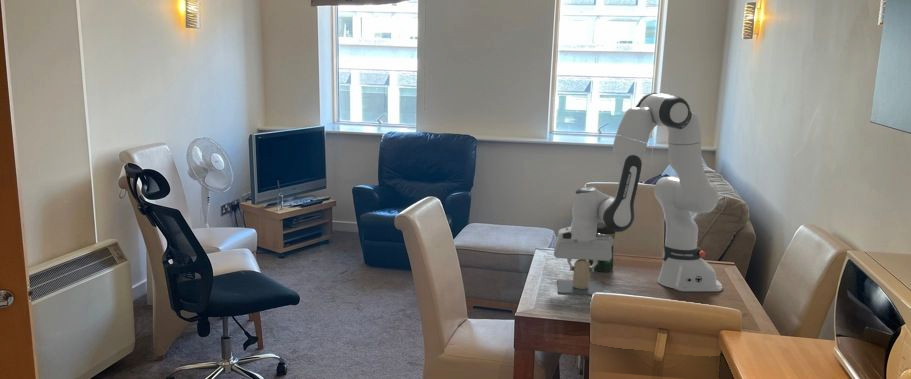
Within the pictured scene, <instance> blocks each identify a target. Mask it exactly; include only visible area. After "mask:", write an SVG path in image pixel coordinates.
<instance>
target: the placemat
mask: <svg viewBox="0 0 911 379" xmlns="http://www.w3.org/2000/svg"><path fill="white" fill-rule="evenodd" d="M556 281H557V283H556V284H557V294H558V295H571V296H572V295H573V296H584V295H587V296H588V297H593V296H592V294H593V293H595V292H604V293H605V290H604V286H603V282H601V281H589V286H588V288H587V289H578V288H575V287H573V280H569V279H568V280H567V279H557V280H556ZM587 296H586V297H587Z"/></svg>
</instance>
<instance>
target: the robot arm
mask: <svg viewBox="0 0 911 379" xmlns="http://www.w3.org/2000/svg"><path fill="white" fill-rule="evenodd" d="M656 126H661V127H666V128H667V132H668V138H667V142H668V144H667V145H668V146H667V147H668V163H669V166H670V167H671V168H672V169H673V171H674V172H675V173H676V175H677V176H663V177H660V178H659V179H658V180H656V183H655V185H654V188H653V195H654V198H655V199H656V200H657V201H658V203H659V204H660V207H661V208H662V212H663V215H664V216H663V217H664V219H665V220H664V221H665V241H664V242H665V243H664V244H663V248H662V265H661V269H660V272H659V275H658V278H657V283H658V284H660V285H662V286H664V287H667V288H671V289H674V290H676V291H678V292H721V291H723V285H722V283H721V282H720V280H718V279H717V274H716V270H715V269H714V268H713V267H712V265H710V264H709V263H708V262H707V261H706V260H704V259H703V258H705V256H706V255H707V254H706V252H705V251H704V250H703V249H701V248H700V247H699V246H698V237H699V227H698V224H697V223H696V222H695V221H694V218H693V217H692V215H691V213H695V214H709V213H711V212H712V211H714V210H715V209H716V207H717V205H718V202H719V193H718V191H717V189H716V188H715V187H714V186H713V185H712V184H711V182H710V181H709V178H708V177H707V174H706V172H705V168H704V165H703V159H702V158H703V157H702V156H703V155H702V131H701V130H702V129H701V124H700V120H699V116H698V114H697V113H696V112H694V111H692V110H691V108H690V105H689V103H688V102H687V101H686V100H685V99H684V98H682V97H681V96H679V95H672V94H669V93H658V92H651V93H648V94H645V95H644V96H642V98H641V99H640V100H639V101H638V103H637V104H636V106H634V107H633V106H632V107H629V108H628V109H626V111H625V113H624V115H623V116H622V119H621V120H620V123H619V125H618V128H617V131H616V133H615V137H614V140H613V144H612V155H613V158H614V160H615V162H616V163H617V166H618V169H619V180H618V183H617V188H616V192H615V195H614V196H615V197H614V196H611V195H607V194H605V193H603V192H602V191H600V190H598V189H597V188H596V187H593V186H585V187H581V188H578V189H577V190H576V191H575V192H574V194H573V199H572V209H571V213H572V219H571V220H572V221H571V224H570V225H571V226H567V227H564V228H560V229H559V230H558V234H557V236H558V237H556V239H555V242H554V247H553V256H554V257H555V258H556V259H564V260H565V259H567V260H566V261H567V263H568V265H569V271H570V272H571V271H572V272H574V264H572V260H579V259H584V260H586V261H589V260H593V262H594V263H593V265H592V266H590V272H589V273H594V272H595V270H594V267H595V266H596V265H597V263H598V260H603V261H610V260H611V259H612V249H611V247H612V246H613V247H614V242H613V241H614V240H615V238H614V239H613V237H612V236H610V235H609V234H606V235H605V234H597V224H598V223H604V224H605V225H606V226H607V227H608V228H609V229H610V230H612V231H614V232H615V233H621V232H624V231H625V232H626V230H628V229H629V228H630V227H631V226H632V225H633V223H634V220H635V209H634V208H635V207H634V206H635V198H636V194H637V190H638V185H639V181H640V179H641V178H640V177H641V172H642V166H643V160H644V157H645V153H646V149H647V146H648V143H649V139H650V135H651V133H652V131H653V130H654V129H655V127H656Z"/></svg>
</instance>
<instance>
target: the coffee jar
mask: <svg viewBox="0 0 911 379" xmlns="http://www.w3.org/2000/svg"><path fill="white" fill-rule="evenodd" d="M597 234H605V235H606V234H609V235H610V236H612V237H613V239H614V240H615V236H616V232H614V231H612V230H610V229H609V228H608V227H607V226H606V225H605V224H604V223H598V224H597ZM613 243H614V241H613ZM611 249H612V259H611V260H610V261H603V260H598V263H597V265H596V266H595V267H594V271H597V272H604V273H605V272H606V273H607V272H611V271H612V270H613V269H614V245H613V246H612V247H611ZM587 262H589V264H590V266H592V265H593V263H594V262H593V260H587Z"/></svg>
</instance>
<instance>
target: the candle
mask: <svg viewBox="0 0 911 379" xmlns="http://www.w3.org/2000/svg"><path fill="white" fill-rule="evenodd" d="M573 265H574V271H573V277H572V278H573V279H572V281H573V287H575V288H578V289H587V288H588V286H589V282H590V273H591V272H590V264H589V262H588V260H584V259H576V261H575V262H574V263H573Z"/></svg>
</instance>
